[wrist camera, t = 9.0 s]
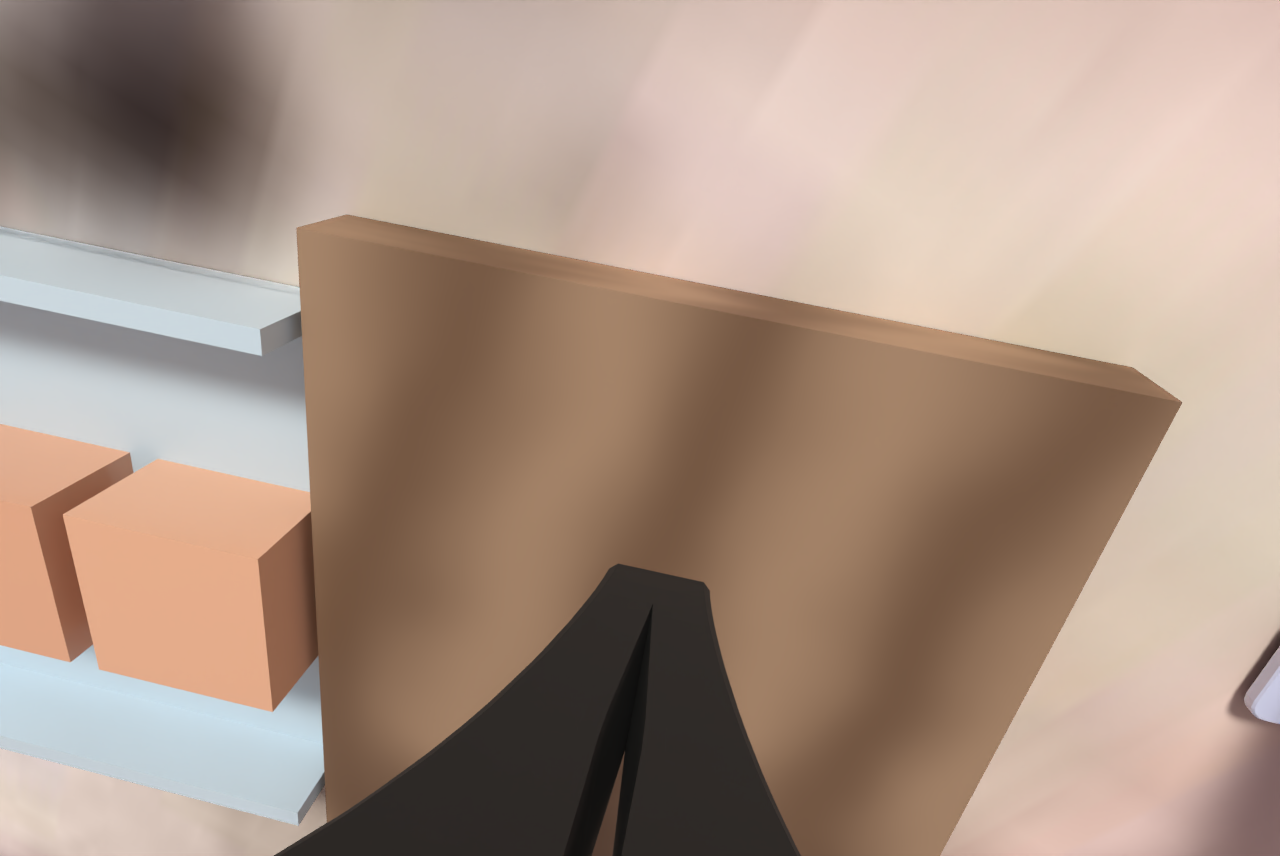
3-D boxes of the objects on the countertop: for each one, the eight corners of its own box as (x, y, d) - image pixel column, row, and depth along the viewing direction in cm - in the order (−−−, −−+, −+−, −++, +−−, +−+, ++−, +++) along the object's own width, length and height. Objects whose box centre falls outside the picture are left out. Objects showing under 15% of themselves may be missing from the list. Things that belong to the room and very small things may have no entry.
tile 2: (327, 496, 19) (257, 559, 17) (333, 635, 22) (272, 712, 19) (157, 458, 20) (62, 514, 17) (180, 600, 22) (98, 669, 19)
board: (1132, 368, 15) (1182, 402, 14) (863, 916, 24) (872, 981, 22) (346, 215, 17) (296, 227, 15) (358, 787, 25) (327, 839, 23)
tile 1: (129, 452, 20) (30, 506, 17) (155, 594, 22) (70, 662, 19) (-33, 416, 20) (-156, 464, 17) (7, 559, 22) (-96, 621, 20)
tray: (336, 294, 18) (259, 328, 15) (349, 746, 24) (298, 825, 22) (-212, 183, 19) (-376, 196, 16) (-52, 645, 26) (-148, 709, 23)
